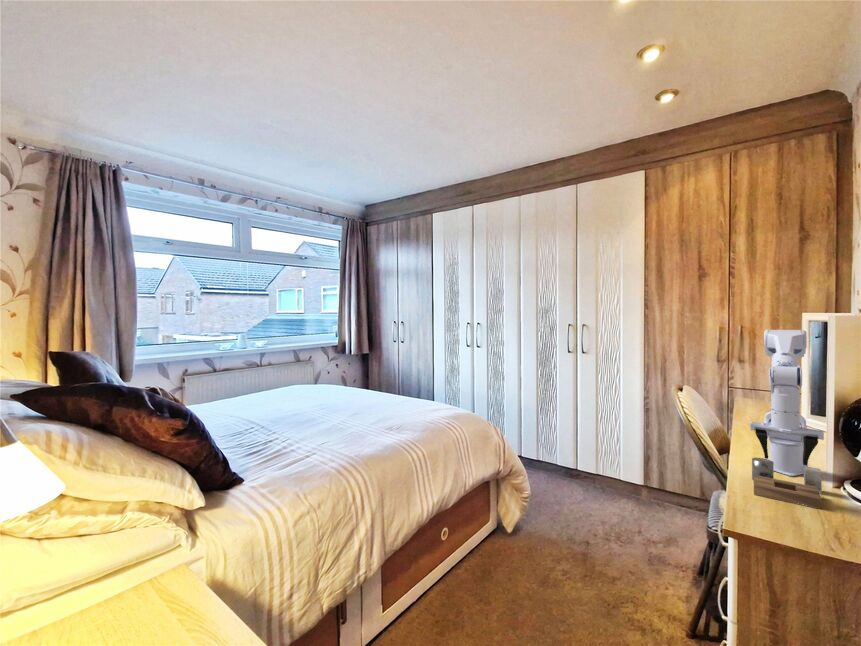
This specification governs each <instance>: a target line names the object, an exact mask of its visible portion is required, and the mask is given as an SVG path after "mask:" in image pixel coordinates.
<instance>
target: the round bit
mask: <svg viewBox="0 0 861 646" xmlns="http://www.w3.org/2000/svg"><path fill="white" fill-rule="evenodd" d="M774 473H775V471H774V462H773V461H771V460H770V459H769V458H768V459H766V458H765V457H764V458H763V457H752V458H751V480H752V481H754V475H757V476H762V477H767V478H773V479H775V478H774V477H775V476H774V475H775V474H774Z"/></svg>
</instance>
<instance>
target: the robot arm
mask: <svg viewBox="0 0 861 646" xmlns="http://www.w3.org/2000/svg"><path fill="white" fill-rule="evenodd" d="M807 338H808V336H807V331H806V330H805V329H765V330H764V333H763V347H764V353H765V355H766V356H767V357H770V358H771V362H770V363H771V367H769V368H768V384H769V389H770V393H771V394H770V411H768V412H766V413H765V415H764V420H763V422H754V421H749V422H750V423H749V427H750V428H749V429H750V431H754V433H755V435H756V438H757V439H758V441H759V443H760V445H761V447H762V451H763V455H764V459H768V460H771V461H773V462H774V472H776V473H779V474H783V475H786V476H789V477H794V476H801V475H804V466H807V467H809V459H810V456H811V455H812V453H813V451H814V449H815V448H816V447H817V445H818V443H819V440H822V441H824V438H825V436H824V435H825V433H824V430H820V429H814V428H807V426H808V425H807V420H806V418H805V417H804V416H802V415H801V412H800V410H801V409H800V408H801V406H800V405H801V404H800V402H801V401H800V400H801V389H802V386H803V370H802V367H801V365H800V362H799V361H800V359H801V358H803V357H805V354H806V351H807V348H808V347H807V346H808V345H807V343H808V341H807V340H808V339H807ZM798 386H799V387H798ZM768 441H769V452H768Z"/></svg>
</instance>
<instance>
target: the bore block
mask: <svg viewBox="0 0 861 646" xmlns="http://www.w3.org/2000/svg"><path fill="white" fill-rule="evenodd" d="M753 495H754V496H759V497H763V498H766V499H767V498H768V499H773V500H777V501H782V502H786V501H788V502H787V503H790V502H793V503H792V504H795V503H799V504H798V505H800V504H804V505H807V506H806V507H809V506H811V507H810V508H813V507H816V508H815V509H818V508H821V509H820V510H822V509H823V508H822V507H823V506H822V505H823V504H822V503H823V502H822V501H823V500H822V497H821V494H819V491H818V488H817V487H814V486H809V485H804V483H797V482H793V481H787V480H782V479H777V478H774V479H773V478H767V477H762V476H757V475H754V480H753ZM804 505H803V506H804Z"/></svg>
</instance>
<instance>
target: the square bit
mask: <svg viewBox="0 0 861 646" xmlns="http://www.w3.org/2000/svg"><path fill="white" fill-rule="evenodd" d="M803 484H804V485H809V486H814V487H817V488H818V491H819V494H820V495H823V494H822V493H823V492H822V470H821V468H817V467H813V466H808V467H807V466H804V474H803Z"/></svg>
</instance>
